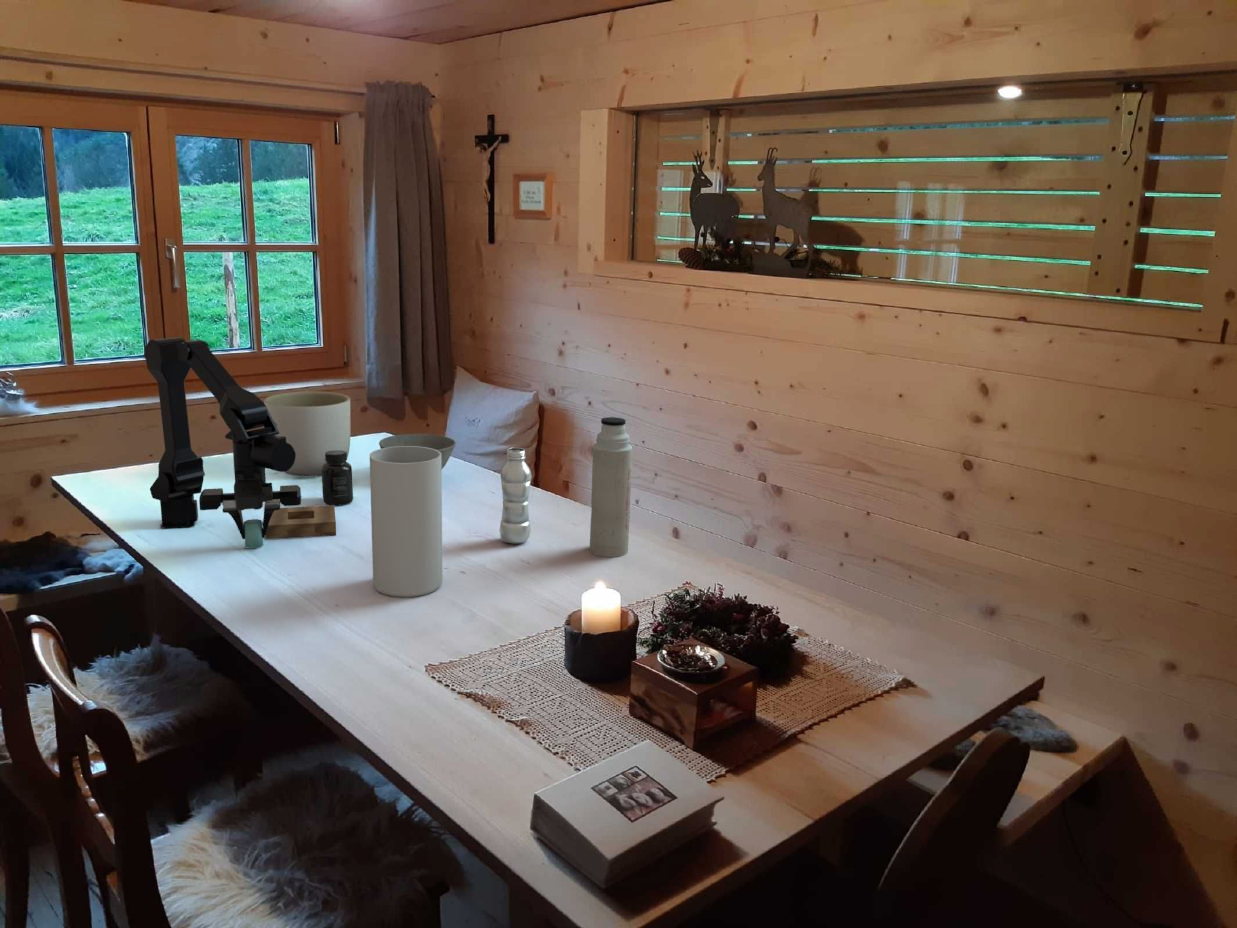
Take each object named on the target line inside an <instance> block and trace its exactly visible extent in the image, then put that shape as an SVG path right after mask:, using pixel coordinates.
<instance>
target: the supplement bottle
mask: <svg viewBox="0 0 1237 928" xmlns="http://www.w3.org/2000/svg"><path fill="white" fill-rule="evenodd" d="M325 461H326V463H325V464H324V465H323V466H322V468H321V472H322V475H321V486H322V487H321V488H322V490H321V491H322V502H323V503H324V504H325V505H334V507H335V506H336V507H337V506H339V507H340V506H346V505H349V504H351V503H352V502H353V500H354V491H353V490H354V489H353V484H354V483H353V470H352V469H353V468H352V465H351V464H350V463H349V462H347V461H348V457H347V452H346V451H342V450H333V451H328V452H326V453H325Z"/></svg>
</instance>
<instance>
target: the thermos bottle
mask: <svg viewBox="0 0 1237 928" xmlns="http://www.w3.org/2000/svg"><path fill="white" fill-rule="evenodd" d="M600 420H601V421H600V422H601V431H600V432H599V433H597V435H596V440H595V441H596V443H594V444H593V446H592V464H591V465H592V471H591V473H592V474H591V496H590V497H591V499H590V501H591V502H590V504H591V505H590V506H591V507H590V508H591V514H590V515H591V516H590V526H589V527H590V531H589V551H590V553H592V554H593V555H596V556H599V557H604V558H605V557H606V558H614V557H615V558H616V557H622V556H625V555H626V554H627V553H628V551H629V541H630V540H629V539H630V538H629V537H630V513H631V490H632V489H631V488H632V471H633V470H632V469H633V468H632V464H633V446H632V445H630V442H631V440H630V435H629V434H628V433H626V421H627V420H626V419H625V418H620V417H617V416H616V417H614V416H610V417H603V418H601V419H600Z"/></svg>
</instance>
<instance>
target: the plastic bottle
mask: <svg viewBox="0 0 1237 928" xmlns="http://www.w3.org/2000/svg"><path fill="white" fill-rule="evenodd" d="M506 452H507V453H506V459H507V462H506V463H505V464H504V465H503V468H502V469H501V472H500V484H501V489H502V511H501V519H500V520H501V521H500V524H499V534H500V535H499V536H500V538H501V540H502V542H504V543H508V544H521V543H525V542H527V541H528V540H529V538H530V537H531V536H530V535H531V532H532V531H531V530H532V529H531V522H530V516H529V515H530V514H529V495H530V487H531V483H532V472H531V469H530V467H529V465H528V463H527V462H525V460H526V450H525V448H521V447H510V448H507V450H506Z"/></svg>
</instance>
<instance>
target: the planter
mask: <svg viewBox="0 0 1237 928" xmlns="http://www.w3.org/2000/svg"><path fill="white" fill-rule="evenodd" d="M263 402H264V404H265V405H266V407H267V409H268V411H269V413H270V415H271V417H272V419H273V420H274V422H275V423H276V425H277V426H276V427H277V428H278V430H279V434H277V435H276V436H285V437H286V443H289V444H290V445H291V446H292V447H293V448H294V451H295V453H296V457H295V462H294V464H293V466H292V467H291V468H290V469H289V470H287V471H285V472H284V473H286V474H287V475H291V476H296V477H318V476H319V477H320V476H322V472H321V468H322V466H323V465H324V464H325V463H326V461H325V453H326V452H328V451H333V450H342V451H346V452H347V458H348V457H349V454H350V449H351V448H350V447H351V398H350V396H348V395H345V394H343V393H340V392H339V393H338V392H330V391H314V390H313V391H311V390H309V391H293V392H283V393H278V394H273V395H270V396H268V397H266V398H264V401H263Z"/></svg>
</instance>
